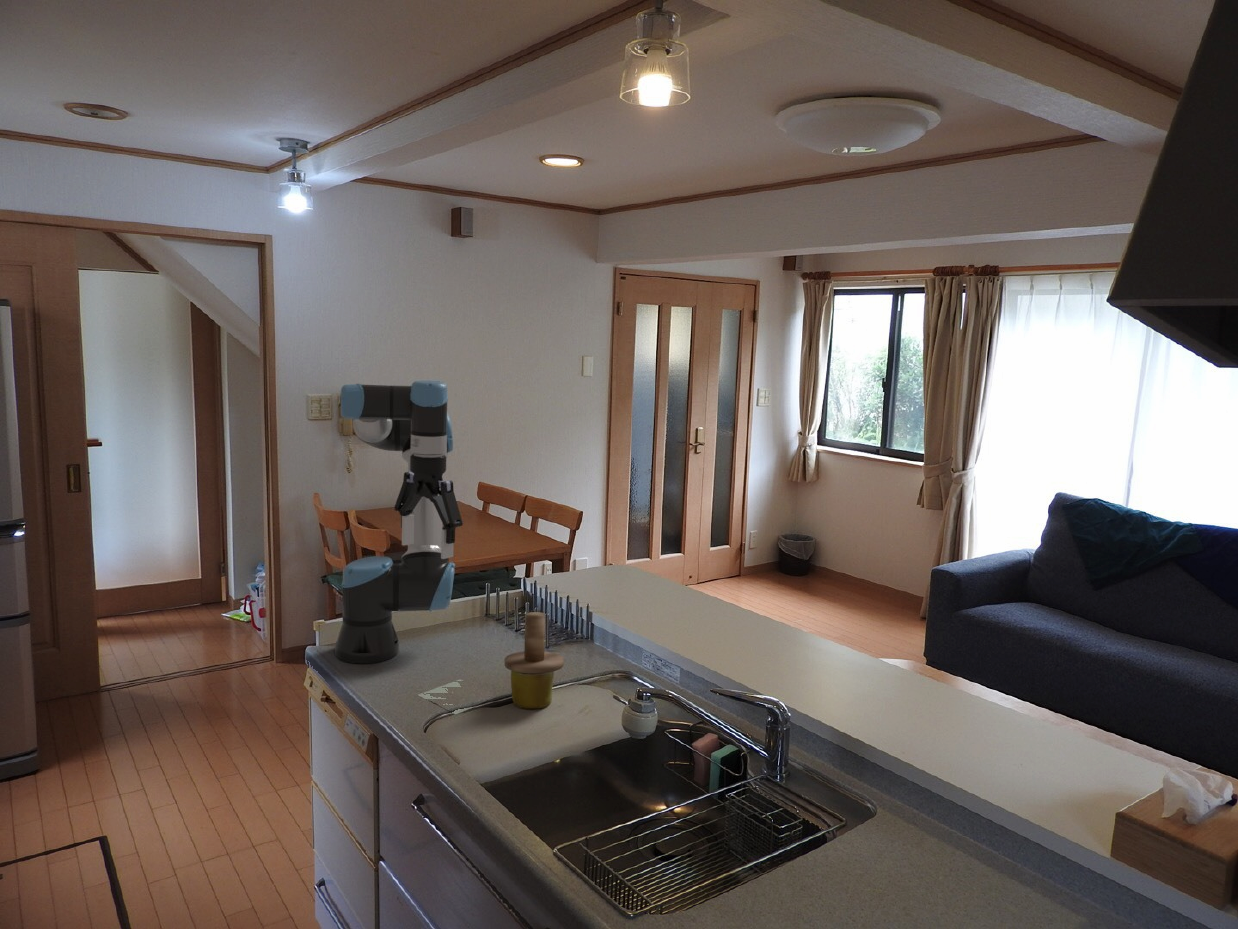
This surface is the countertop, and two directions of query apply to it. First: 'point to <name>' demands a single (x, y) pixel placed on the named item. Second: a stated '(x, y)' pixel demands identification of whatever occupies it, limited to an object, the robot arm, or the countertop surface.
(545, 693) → the mug
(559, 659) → the wooden peg stand
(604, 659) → the countertop surface
